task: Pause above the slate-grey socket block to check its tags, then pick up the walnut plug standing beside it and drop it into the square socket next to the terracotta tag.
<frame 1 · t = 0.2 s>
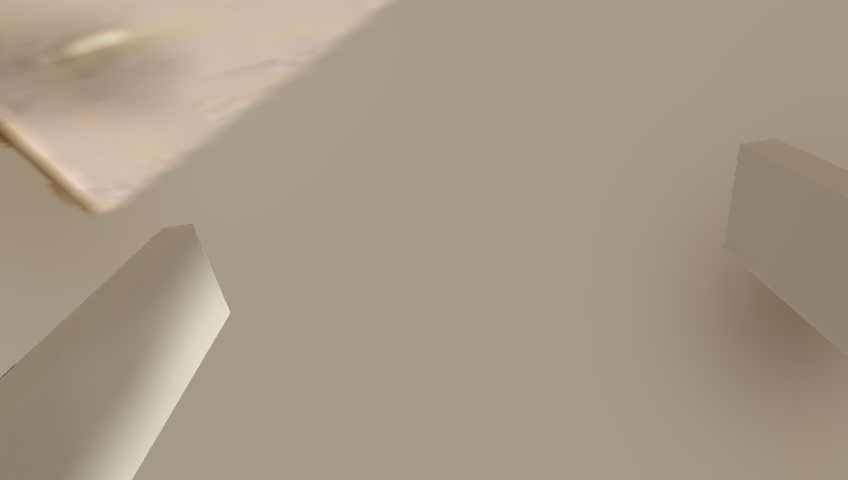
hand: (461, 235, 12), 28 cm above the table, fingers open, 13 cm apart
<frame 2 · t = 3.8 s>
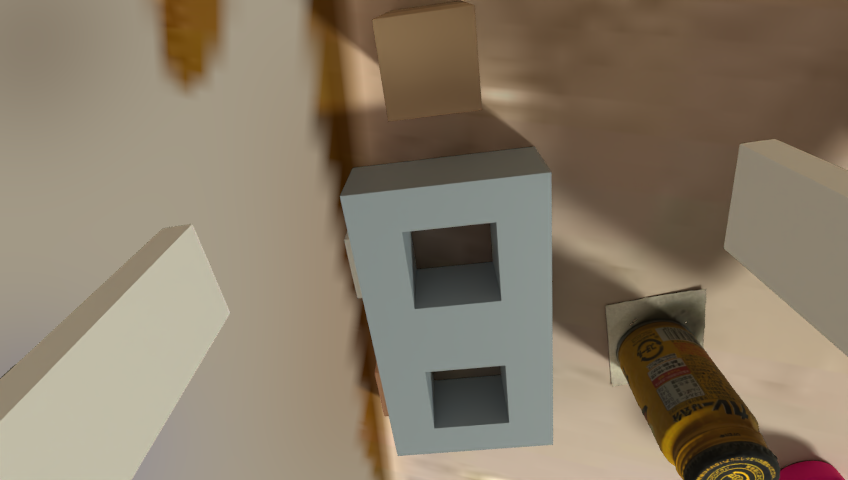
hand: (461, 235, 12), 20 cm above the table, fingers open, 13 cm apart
pepper mill: (799, 479, 46), on the table
condiment: (653, 337, 38), on the table
plug: (430, 43, 28), on the table
socket block: (458, 296, 36), on the table
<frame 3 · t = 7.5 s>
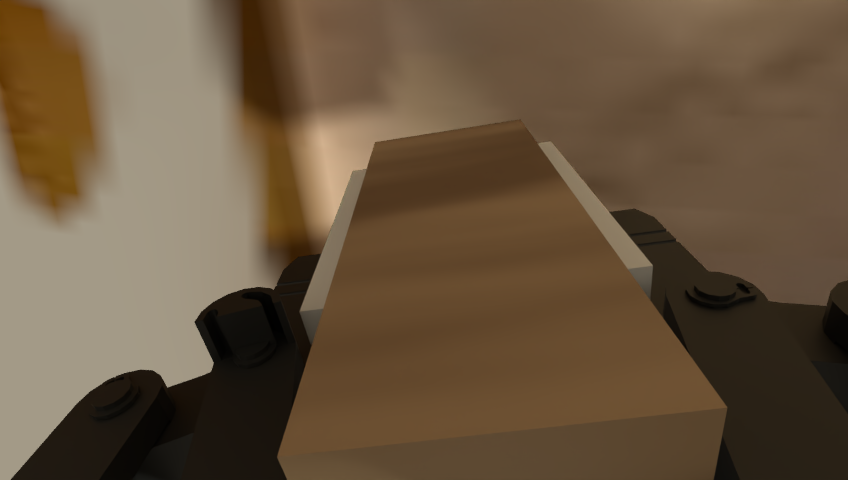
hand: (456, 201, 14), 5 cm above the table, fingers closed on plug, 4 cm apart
plug: (456, 197, 14), point 5 cm above the table, touching gripper
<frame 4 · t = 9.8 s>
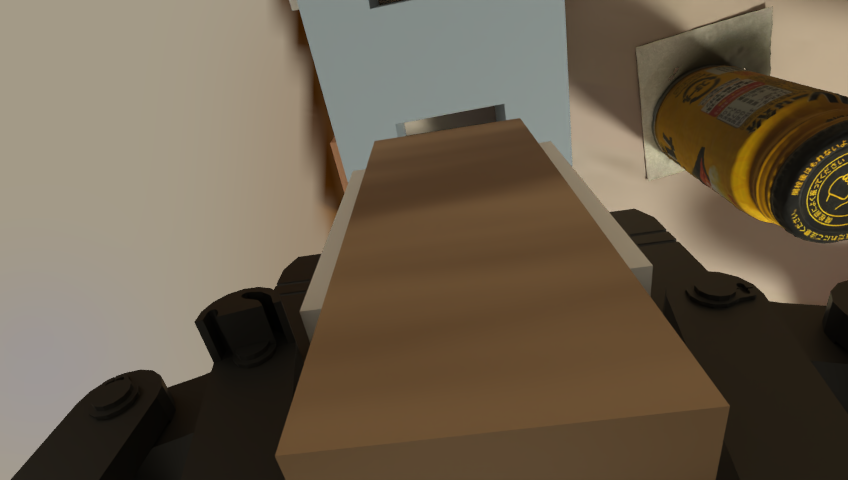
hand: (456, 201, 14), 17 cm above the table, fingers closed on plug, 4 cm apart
condiment: (701, 99, 29), on the table
plug: (455, 196, 14), point 16 cm above the table, touching gripper
socket block: (437, 46, 27), on the table
when the fingers open (7 cm above the table, at t = 12.2 s): plug drops 6 cm, resting in socket block.
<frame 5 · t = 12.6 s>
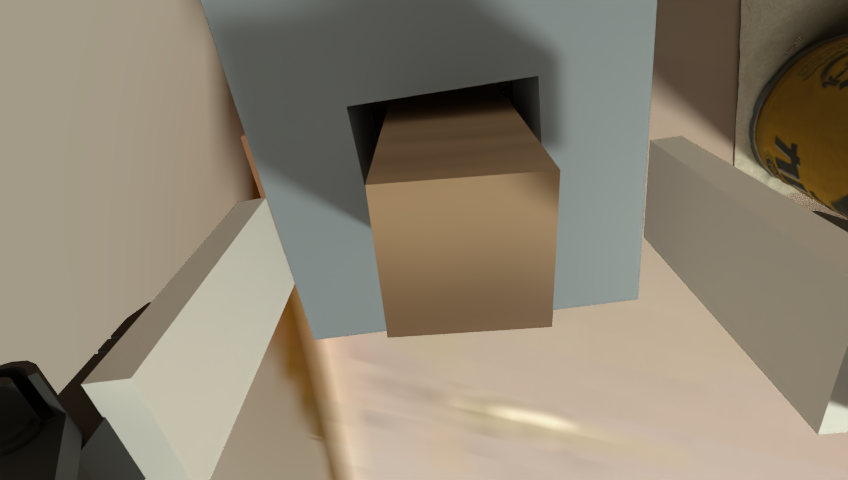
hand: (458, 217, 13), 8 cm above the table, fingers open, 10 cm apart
condiment: (828, 87, 19), on the table
plug: (446, 137, 20), resting in socket block
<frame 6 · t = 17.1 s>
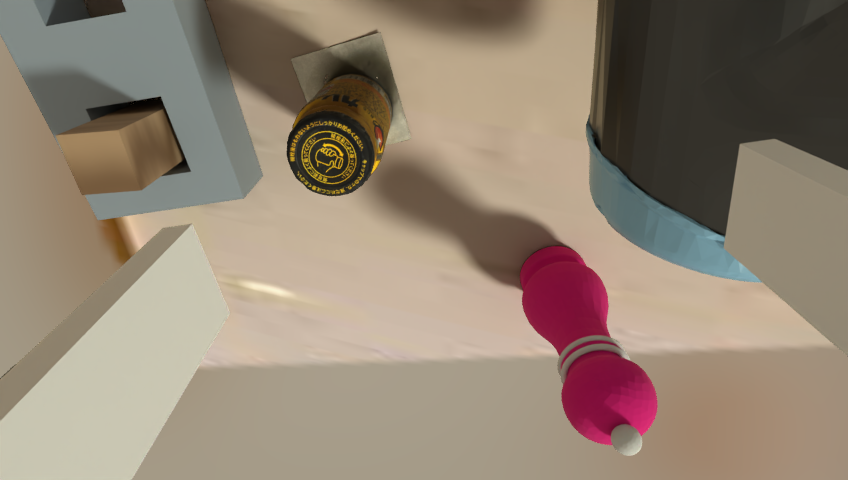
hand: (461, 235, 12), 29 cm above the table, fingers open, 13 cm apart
pepper mill: (551, 272, 46), on the table
condiment: (353, 99, 39), on the table
plug: (172, 123, 39), resting in socket block
socket block: (143, 53, 37), on the table
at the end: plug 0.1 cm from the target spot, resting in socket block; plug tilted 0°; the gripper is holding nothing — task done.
